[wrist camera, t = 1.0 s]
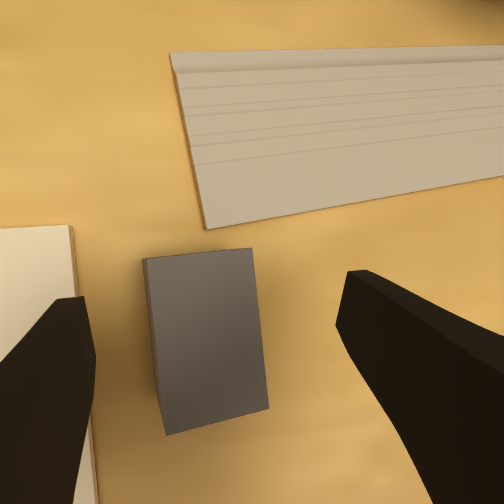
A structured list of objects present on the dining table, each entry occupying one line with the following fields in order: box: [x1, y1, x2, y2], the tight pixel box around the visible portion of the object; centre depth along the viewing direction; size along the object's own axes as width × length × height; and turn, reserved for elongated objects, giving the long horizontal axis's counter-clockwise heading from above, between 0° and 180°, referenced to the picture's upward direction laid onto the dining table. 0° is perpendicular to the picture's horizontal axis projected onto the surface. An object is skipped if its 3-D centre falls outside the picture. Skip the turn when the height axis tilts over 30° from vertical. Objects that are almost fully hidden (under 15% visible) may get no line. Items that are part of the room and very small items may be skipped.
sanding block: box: [142, 248, 269, 436], centre depth 20 cm, size 8×5×5 cm, turn 7°
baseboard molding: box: [169, 45, 504, 230], centre depth 26 cm, size 31×3×12 cm
